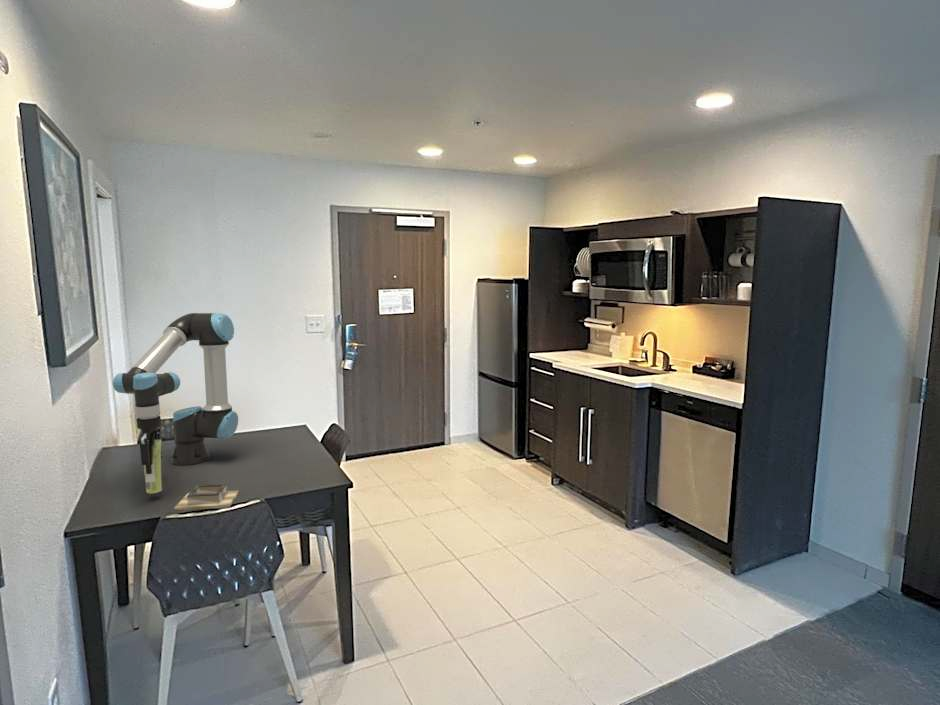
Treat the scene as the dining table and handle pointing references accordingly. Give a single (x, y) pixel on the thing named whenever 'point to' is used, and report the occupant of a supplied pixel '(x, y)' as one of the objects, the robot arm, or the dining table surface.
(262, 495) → the dining table surface
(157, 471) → the tube
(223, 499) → the collar board
